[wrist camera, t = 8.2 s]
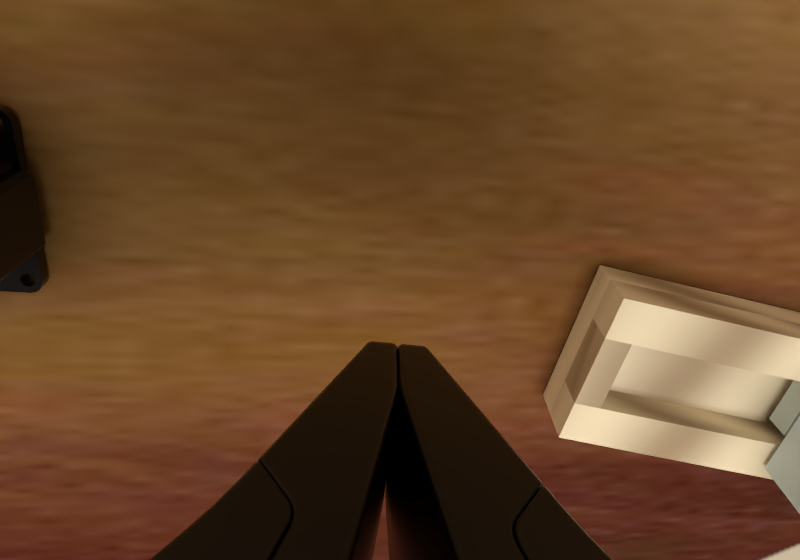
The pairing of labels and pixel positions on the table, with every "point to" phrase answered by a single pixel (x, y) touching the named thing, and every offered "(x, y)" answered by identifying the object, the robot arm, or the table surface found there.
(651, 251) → the table surface
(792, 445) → the block
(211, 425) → the table surface
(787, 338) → the beam
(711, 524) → the table surface
